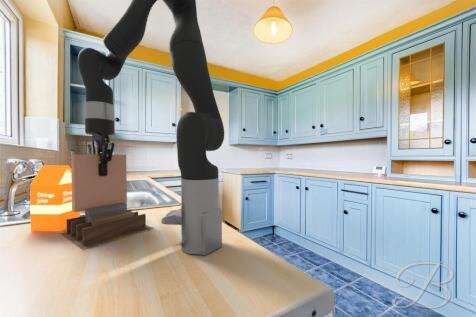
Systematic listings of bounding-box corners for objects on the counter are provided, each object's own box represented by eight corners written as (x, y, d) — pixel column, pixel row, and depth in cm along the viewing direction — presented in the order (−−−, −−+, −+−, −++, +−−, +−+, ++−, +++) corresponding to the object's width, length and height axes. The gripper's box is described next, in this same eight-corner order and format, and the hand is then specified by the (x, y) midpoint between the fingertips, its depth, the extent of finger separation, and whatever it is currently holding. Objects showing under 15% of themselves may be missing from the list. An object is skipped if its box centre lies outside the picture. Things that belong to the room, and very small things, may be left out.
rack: (154, 231, 62) (154, 214, 62) (83, 254, 48) (82, 233, 48) (125, 220, 73) (125, 206, 73) (60, 236, 59) (59, 219, 59)
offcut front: (134, 229, 62) (134, 212, 62) (95, 240, 54) (95, 221, 53) (129, 227, 63) (129, 210, 63) (91, 237, 55) (91, 219, 55)
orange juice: (54, 225, 68) (53, 164, 68) (80, 225, 68) (79, 164, 68) (29, 234, 60) (28, 166, 60) (59, 234, 60) (58, 166, 60)
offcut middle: (127, 226, 64) (126, 203, 64) (89, 236, 56) (89, 210, 56) (122, 224, 66) (122, 202, 66) (85, 233, 58) (85, 209, 58)
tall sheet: (126, 203, 68) (126, 154, 68) (74, 212, 57) (73, 154, 57) (123, 202, 70) (122, 154, 69) (71, 211, 58) (70, 154, 58)
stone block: (159, 233, 66) (190, 227, 66) (157, 218, 66) (187, 212, 66) (172, 222, 78) (198, 217, 78) (169, 210, 78) (195, 205, 78)
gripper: (123, 118, 62) (124, 176, 62) (104, 123, 70) (105, 173, 70) (95, 114, 56) (96, 178, 56) (77, 119, 64) (78, 175, 64)
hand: (101, 175), depth 63 cm, fingers closed on tall sheet, 2 cm apart
